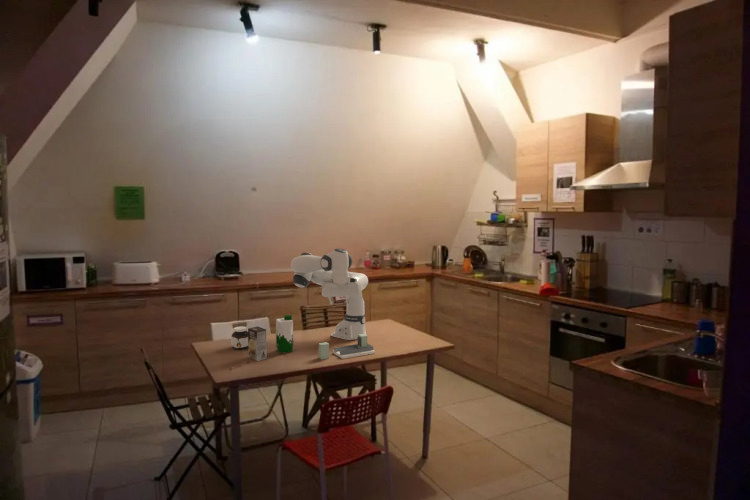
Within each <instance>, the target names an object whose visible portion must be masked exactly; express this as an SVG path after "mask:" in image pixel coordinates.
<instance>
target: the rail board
mask: <svg viewBox="0 0 750 500" xmlns="http://www.w3.org/2000/svg"><path fill="white" fill-rule="evenodd" d="M332 354H334V355H335V356H337V357H339V358H340V359H342V360H343V359H349V358H356V357H361V356H363V357H364V356H369V355H375V354H376V350H374V345H372V344H370V343H368V335H365V334H359V335H358V339H357V343H355V344H349V345H343V346H337V347H333V350H332ZM368 354H369V355H368Z"/></svg>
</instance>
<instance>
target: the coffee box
mask: <svg viewBox="0 0 750 500" xmlns="http://www.w3.org/2000/svg"><path fill="white" fill-rule="evenodd" d="M247 331H248V347H247V351H248V353H247V354H248V355H247V357H248V358H249V359H251V360H254V361H255V362H259V361H264V360H267V352H268V351H267V329H266V328H262V327H260V326H253V327H247Z"/></svg>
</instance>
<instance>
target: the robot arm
mask: <svg viewBox="0 0 750 500" xmlns="http://www.w3.org/2000/svg"><path fill="white" fill-rule="evenodd" d="M352 264H353V258H352V256H351V255H350V253H348V251H347V250H346V249H345V248H335V249H333V250H332V251H331V252H329V253H326V254H323V255H322V256H319V255H314V254H312V253H310V252H302V253H301V254H300V255H298V256H295V257H294V258H292V260H291V261H290V269H291V270H292V271H293V272H294V274H293V276H292V283H293V284H294V286H296V287H297V288H307V287H308V286H309V285H310V282H312V283H313V284H316V285H319V286H321V296H322V297H324V298H327V300H329V305H331V306H333V305H334V301H333V300H332V298H333V297H334V298H335V297H345V302H346V313H345V314H344V315H342V318H343V320H341V321H340V322H338V324H336V326H335V329H334V331H333V332H331V334H330V336H331V337H334V338H338V339H342V340H345V341H351V340H352V341H353V340H358V335H359V334H365V335H367V332H366V313H365V300H364V298H363V297H364V296H363V290H365V289H366V287H367V286H368V284H369V278H368V276H367V275H366V274H365V273H360V272H354V271H349V270H350V268H351V266H352ZM367 336H368V335H367Z"/></svg>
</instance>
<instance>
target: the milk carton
mask: <svg viewBox="0 0 750 500" xmlns="http://www.w3.org/2000/svg"><path fill="white" fill-rule="evenodd" d="M292 316H293V315H292V314H285V315H284V316H283V318H282V317H281V318H275V338H276V339H275V341H276V343H275V344H276V350H277V351H278V353H279V354H287V353H293V350H294V320H293V317H292Z"/></svg>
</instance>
